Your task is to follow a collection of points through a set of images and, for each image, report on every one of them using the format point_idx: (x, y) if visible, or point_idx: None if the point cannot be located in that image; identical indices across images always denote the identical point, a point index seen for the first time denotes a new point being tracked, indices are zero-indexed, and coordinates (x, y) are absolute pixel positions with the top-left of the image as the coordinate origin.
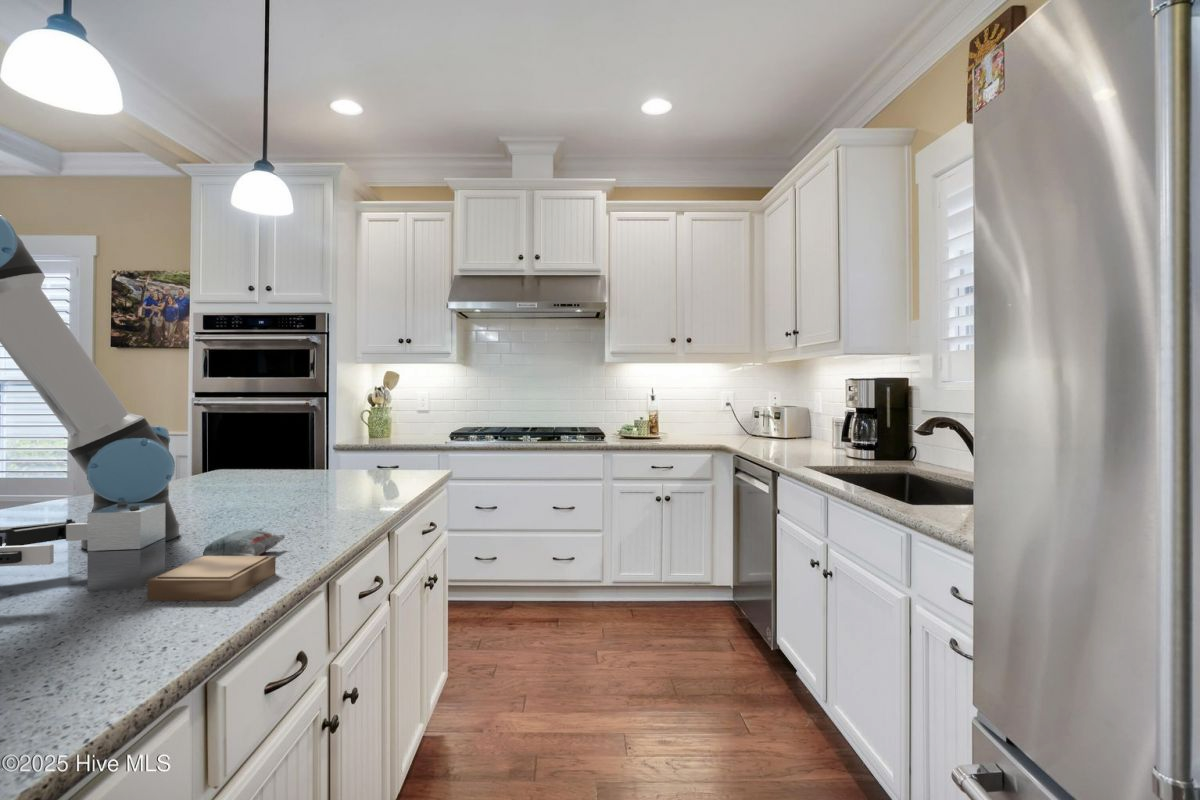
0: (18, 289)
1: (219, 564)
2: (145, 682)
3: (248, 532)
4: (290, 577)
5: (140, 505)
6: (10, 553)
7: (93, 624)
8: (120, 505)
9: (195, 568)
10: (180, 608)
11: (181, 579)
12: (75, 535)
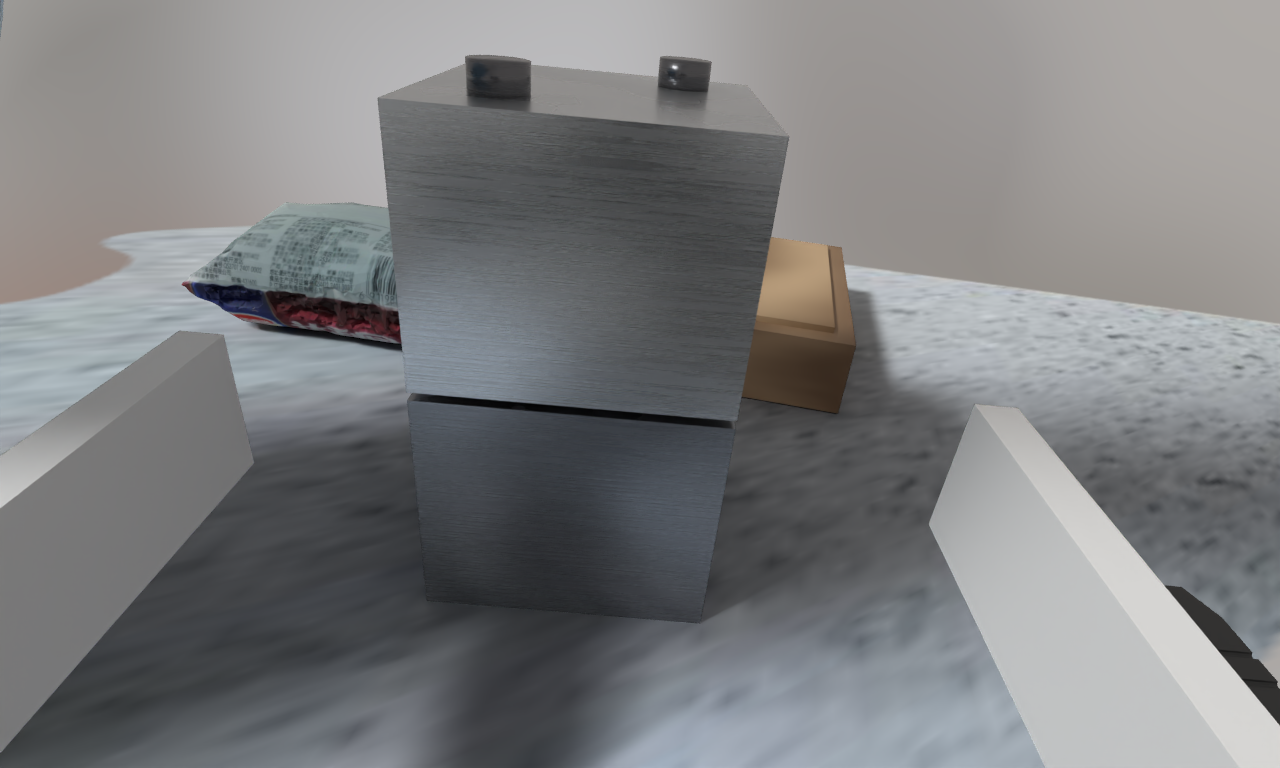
0: None
1: None
2: (1240, 332)
3: (365, 208)
4: None
5: (534, 78)
6: (1221, 621)
7: None
8: (529, 87)
9: None
10: (893, 352)
11: (841, 298)
12: (17, 663)
